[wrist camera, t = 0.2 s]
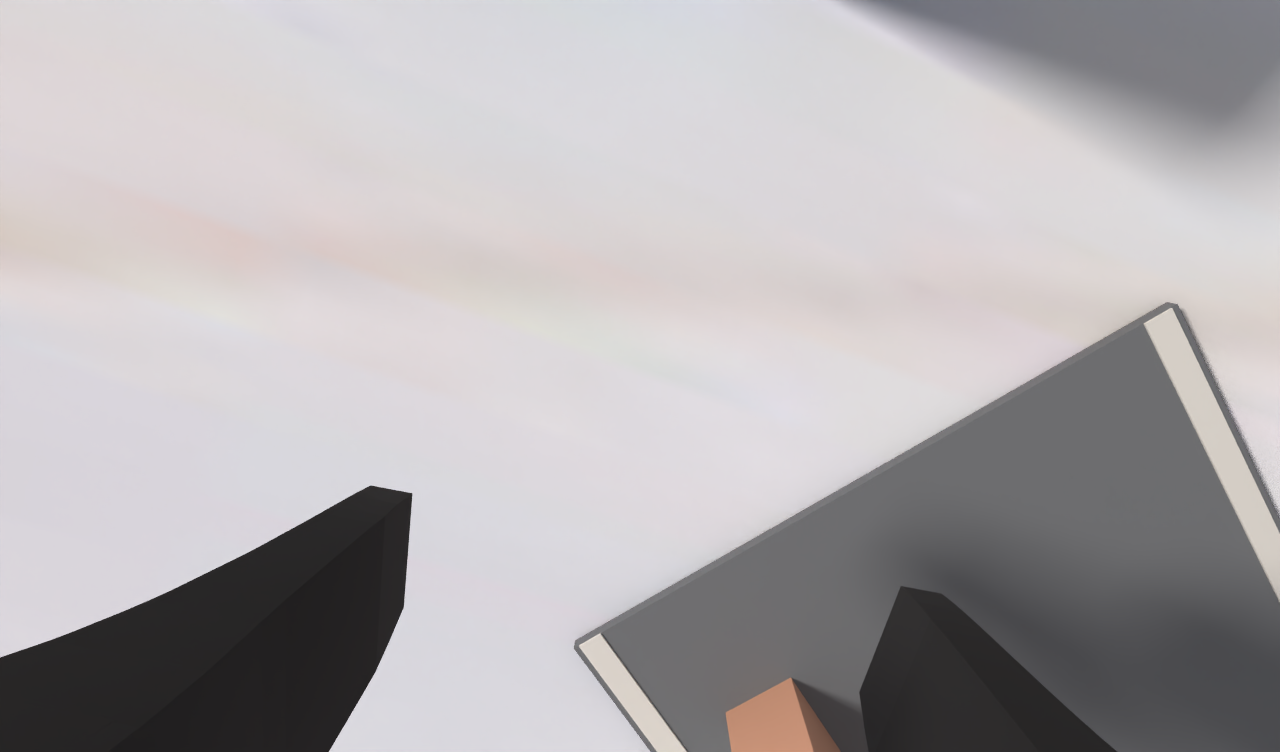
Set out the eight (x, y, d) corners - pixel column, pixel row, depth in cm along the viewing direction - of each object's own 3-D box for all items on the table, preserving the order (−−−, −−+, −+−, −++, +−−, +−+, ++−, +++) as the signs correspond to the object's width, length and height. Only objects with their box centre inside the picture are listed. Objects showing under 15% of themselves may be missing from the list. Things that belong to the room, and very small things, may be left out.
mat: (850, 1011, 26) (853, 1025, 25) (575, 640, 22) (573, 649, 22) (1387, 763, 23) (1402, 775, 23) (1167, 302, 20) (1179, 304, 19)
